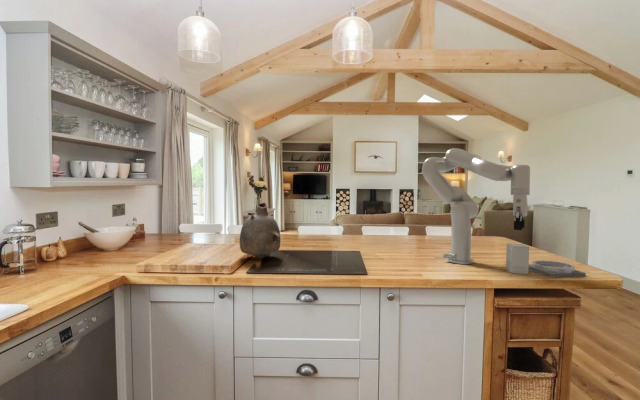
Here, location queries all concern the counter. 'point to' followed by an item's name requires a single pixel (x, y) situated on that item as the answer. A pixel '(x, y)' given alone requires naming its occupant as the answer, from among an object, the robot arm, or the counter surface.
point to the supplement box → (517, 258)
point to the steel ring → (567, 267)
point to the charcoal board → (553, 274)
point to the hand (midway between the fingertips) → (519, 228)
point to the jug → (260, 234)
